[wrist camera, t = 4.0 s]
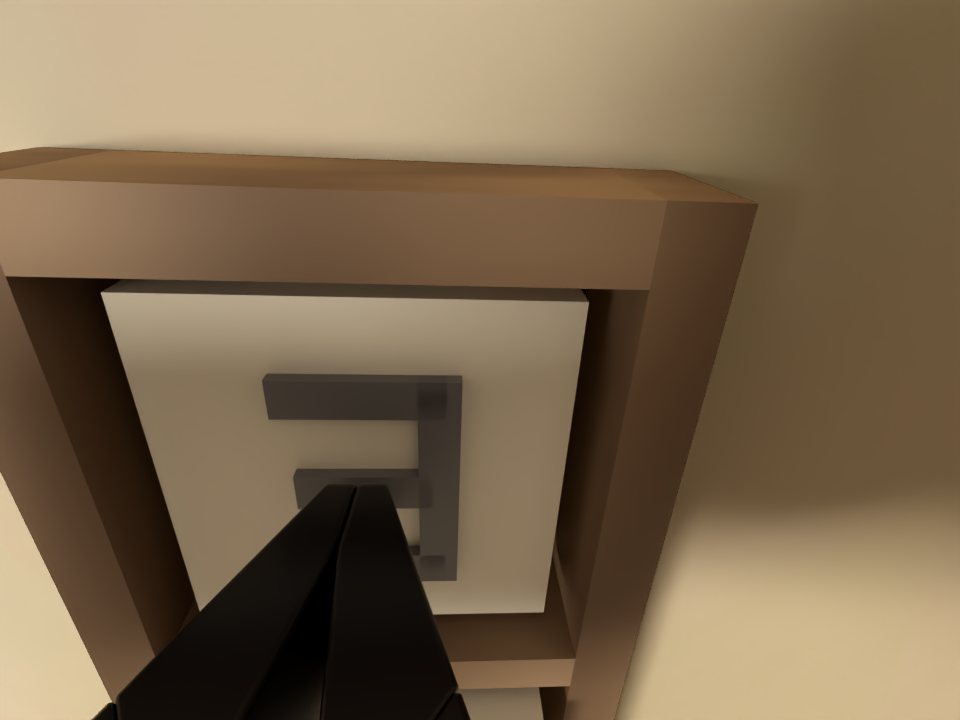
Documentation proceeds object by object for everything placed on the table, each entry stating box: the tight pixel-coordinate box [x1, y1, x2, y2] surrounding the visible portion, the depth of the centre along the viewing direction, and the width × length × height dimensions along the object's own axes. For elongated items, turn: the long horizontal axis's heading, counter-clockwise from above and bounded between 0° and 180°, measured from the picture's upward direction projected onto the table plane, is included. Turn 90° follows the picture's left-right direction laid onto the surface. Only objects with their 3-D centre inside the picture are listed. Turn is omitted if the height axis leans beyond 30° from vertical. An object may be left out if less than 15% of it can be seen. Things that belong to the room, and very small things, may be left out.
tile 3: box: [101, 279, 589, 614], centre depth 8 cm, size 6×6×2 cm
